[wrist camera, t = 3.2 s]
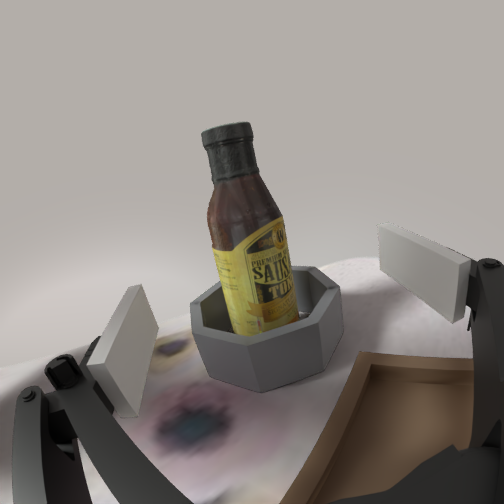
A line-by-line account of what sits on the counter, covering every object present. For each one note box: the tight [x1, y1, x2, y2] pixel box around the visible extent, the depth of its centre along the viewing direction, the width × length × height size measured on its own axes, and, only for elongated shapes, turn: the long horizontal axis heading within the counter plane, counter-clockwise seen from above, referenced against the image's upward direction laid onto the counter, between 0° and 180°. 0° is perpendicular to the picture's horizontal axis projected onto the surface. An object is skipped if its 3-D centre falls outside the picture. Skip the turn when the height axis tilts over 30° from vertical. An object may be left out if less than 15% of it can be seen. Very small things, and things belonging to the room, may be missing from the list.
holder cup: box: [190, 266, 343, 393], centre depth 27 cm, size 13×13×5 cm
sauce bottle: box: [201, 122, 300, 337], centre depth 25 cm, size 6×6×20 cm
